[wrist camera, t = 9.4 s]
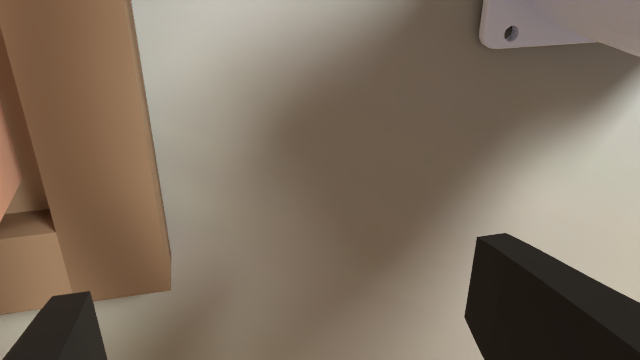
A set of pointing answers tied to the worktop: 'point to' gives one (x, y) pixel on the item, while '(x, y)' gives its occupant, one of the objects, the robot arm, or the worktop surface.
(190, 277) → the worktop surface
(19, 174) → the bar
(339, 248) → the worktop surface
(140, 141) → the board
